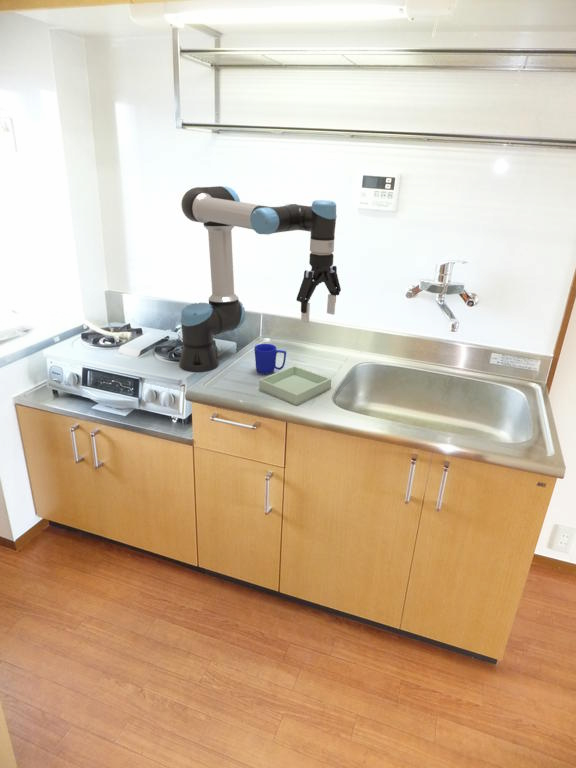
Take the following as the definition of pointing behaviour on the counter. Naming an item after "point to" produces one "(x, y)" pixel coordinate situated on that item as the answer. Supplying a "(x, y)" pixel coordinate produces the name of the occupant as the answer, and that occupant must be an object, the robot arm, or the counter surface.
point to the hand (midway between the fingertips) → (318, 317)
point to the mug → (267, 358)
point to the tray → (295, 385)
